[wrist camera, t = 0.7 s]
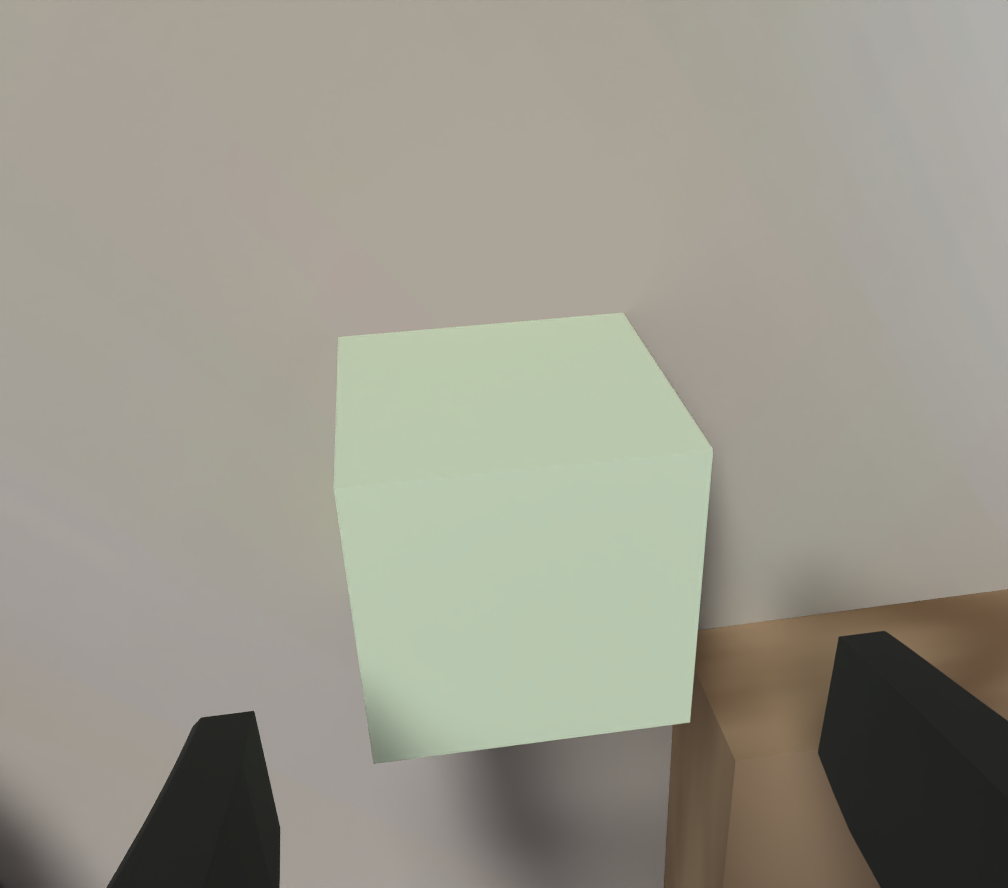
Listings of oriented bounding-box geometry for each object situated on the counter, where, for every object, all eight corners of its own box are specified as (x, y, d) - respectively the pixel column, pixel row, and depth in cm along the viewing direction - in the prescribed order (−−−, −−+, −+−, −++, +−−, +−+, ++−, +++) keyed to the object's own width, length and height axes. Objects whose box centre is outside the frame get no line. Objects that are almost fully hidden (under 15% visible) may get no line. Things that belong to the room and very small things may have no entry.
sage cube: (622, 311, 17) (713, 450, 13) (615, 541, 20) (690, 722, 15) (338, 334, 17) (333, 488, 12) (368, 568, 19) (373, 763, 15)
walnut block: (1094, 567, 22) (1231, 689, 19) (1003, 852, 27) (1099, 991, 24) (673, 621, 21) (735, 761, 18) (658, 907, 26) (705, 1060, 23)
